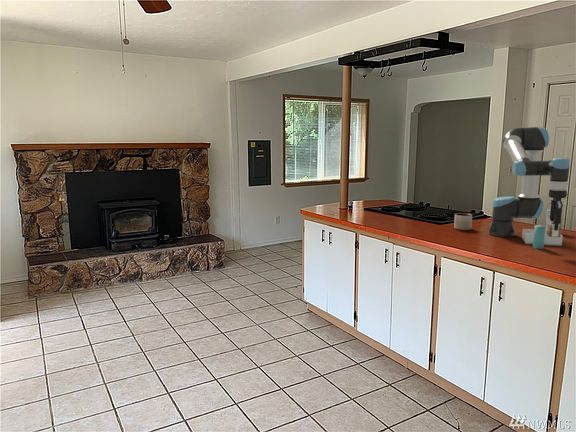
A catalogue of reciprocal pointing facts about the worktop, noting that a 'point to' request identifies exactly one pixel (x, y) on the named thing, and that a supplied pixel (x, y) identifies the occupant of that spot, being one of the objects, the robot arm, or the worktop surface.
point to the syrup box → (549, 219)
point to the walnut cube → (549, 231)
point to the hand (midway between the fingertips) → (553, 235)
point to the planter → (463, 221)
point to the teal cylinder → (538, 237)
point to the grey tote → (529, 236)
